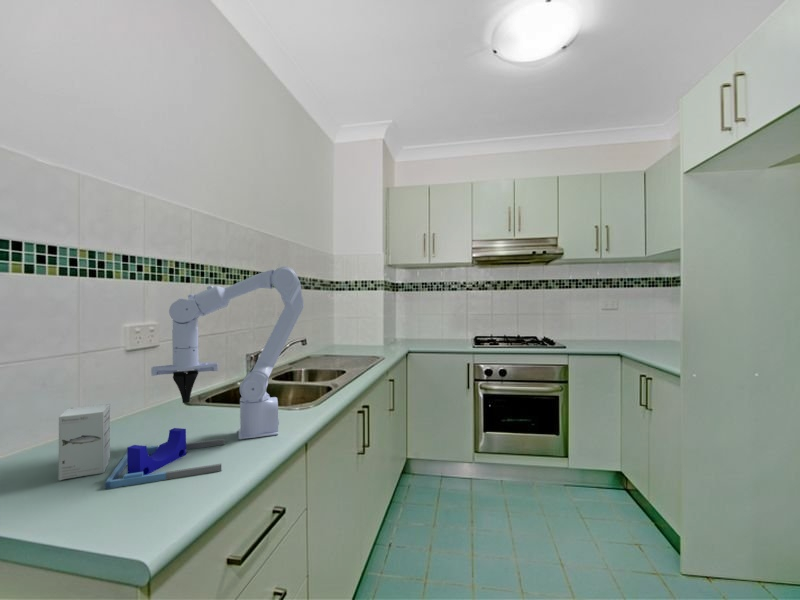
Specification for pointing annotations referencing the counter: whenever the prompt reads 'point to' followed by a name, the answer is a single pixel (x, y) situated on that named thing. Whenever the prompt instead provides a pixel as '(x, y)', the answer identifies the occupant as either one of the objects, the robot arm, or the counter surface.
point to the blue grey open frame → (140, 478)
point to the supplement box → (84, 441)
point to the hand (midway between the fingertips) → (186, 401)
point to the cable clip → (157, 453)
